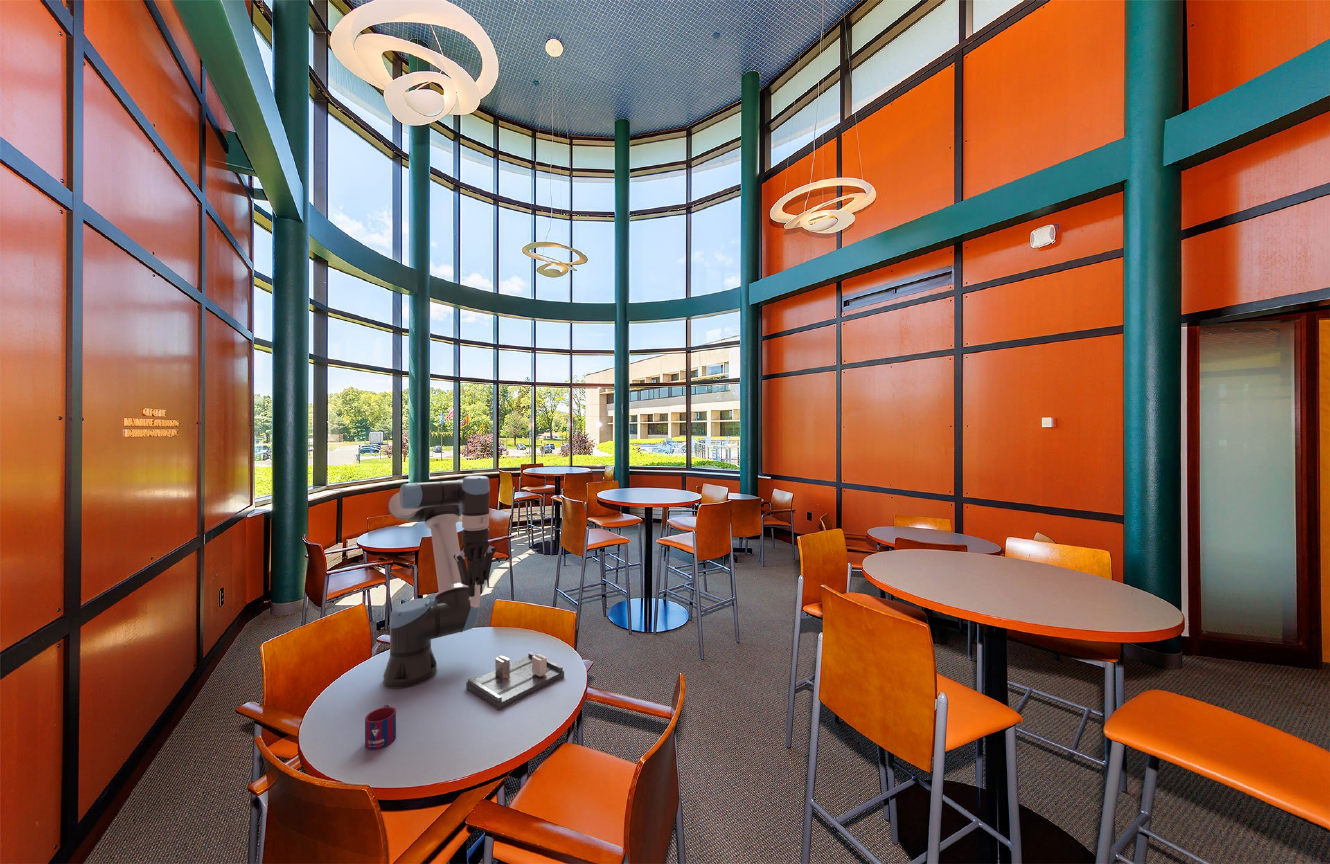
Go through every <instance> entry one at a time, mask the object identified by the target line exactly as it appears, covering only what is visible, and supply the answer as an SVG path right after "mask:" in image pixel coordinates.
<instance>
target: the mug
mask: <svg viewBox="0 0 1330 864" xmlns="http://www.w3.org/2000/svg"><path fill="white" fill-rule="evenodd" d="M396 738H397V709H396V707H393V706H390V704H385V705H384V706H383V707H380V708H376V709H374V710H372V711H370V712H369V713H368V714H367V715H366V716H365V718H364V747H365V748H366V749H367V750H370V751H377V750H380V749H384V748H385V747H388V746H389V745H391V744H392V743H393V742H394V741H395V740H396Z"/></svg>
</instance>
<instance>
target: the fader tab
mask: <svg viewBox="0 0 1330 864" xmlns="http://www.w3.org/2000/svg"><path fill="white" fill-rule="evenodd" d="M534 654H535V653H534ZM547 660H548V659H547V657H546V656H545V655H543V654H539V653H538V654H537V653H536V654H535V656H533V657H532V673H534V674H536V675H538V676H543V675H545V674H547Z"/></svg>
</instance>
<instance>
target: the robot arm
mask: <svg viewBox="0 0 1330 864" xmlns="http://www.w3.org/2000/svg"><path fill="white" fill-rule="evenodd" d="M490 490H491V486H490V478H489V477H488V476H485V475H468V476H465V477H464V478H459V479H457V480H444V481H443V480H441V481H429V482H427V481H425V482H423V481H422V482H409V483H403V484H401V485H400V489H399V492H396V493H395V494H394V495H392V496H391V497H390V498H389V500H388V503H387V510H388V512H389V514H390V515H391V516H392V517H393V518H395V519H397V520H400V521H405V522H423V521H424V523H425V527H427V528H428V529H430V535H431V542H432V550H433V557H434V565H435V566H434V567H435V573H436V580H437V587H438V592H437V593H436V595H434V601H432V600H431V599H430V598H428V597H422V598H415V599H410V600H408V601H404V602H402V603H401V604H399V605H397V606H396V607H394V608H393V609H392V611H391V613H390V615H389V616H390V617H389V625H388V626H389V658H388V661H387V663H386V667H385V669H384V671H383V673H384V674H383V685H384V686H385V687H387V688H390V689H404V688H409V687H413V686H417V685H420V684H423V683H425V682H427V681H428V680H430V679H432V678H433V677H435V675H436V673H437V672H438V663H437V659H436V658H435V655H434V653H433V650H432V640H434V639H438V638H443V637H447V636H449V635H453V634H458V633H463V632H465V631H469V630H472V629H473V628H475V626H476V625H477V623H478V621H479V615H480V614H479V613H480V607H481V595H482V594H483V585H484V584H485V582H486V581H488V580H489V578H490V574H491V569H492V564H493V559H494V555H495V553H496V551H497V547H494V546H491V545H490V542H489V539H490V528H489V526H490V492H491V491H490ZM461 516H462V518H461V527H462V528H463V529H462V531H461V533H462V534H461V542H462V546H461V547H460V542H459V536H458V529H457V523H458V522H459V520H460V517H461ZM460 548H461V549H460ZM465 558H466V559H465ZM465 560H466V561H465ZM466 562H467V563H466Z"/></svg>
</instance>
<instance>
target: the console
mask: <svg viewBox="0 0 1330 864" xmlns="http://www.w3.org/2000/svg"><path fill="white" fill-rule="evenodd" d="M533 656H535V653H534V652H531V651H530V652H528V655H527V656H524V657H523V658H521V659H517V660H516V661H512V662H511V663H510V661H511V659H510V658H509V657H506V656H504V655H498V657H496V658H494V659H495V665H494V666H495V670H493V671H491V672H488V673H486V674H483V675H482V676H479V677H476V678H475V679H474V678H472V677H469V678H467V682H466V683H465V684H466V685H465V686H466V687H465V688H466V691H467V692H470V693H471V694H473V695H474V696H476V697H477V698H479V699H480V700H482V701H483V702H484V703H486V704H488V705H490V706H491V707H492V708H494V709H496V710H497V711H501V710H503V709H506V708H507V707H510V706H511V705H513V704H515V703H517V702H519V701H521V700H523V699H525V698H527V697H529V696H531V695H532V694H534V693H536V692H538V691H540V690H543V689H544V688H546V687H548V686H550V685H552V684H554V683H556V682H559V681H560V680H562V679H564V678H565V670H564V668H563V666H561V665H559V664H557V663H555V662H553V661H551V660H549V659H547V674H545V675H543V676H538V675H536V674H534V673H532V657H533Z"/></svg>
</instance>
